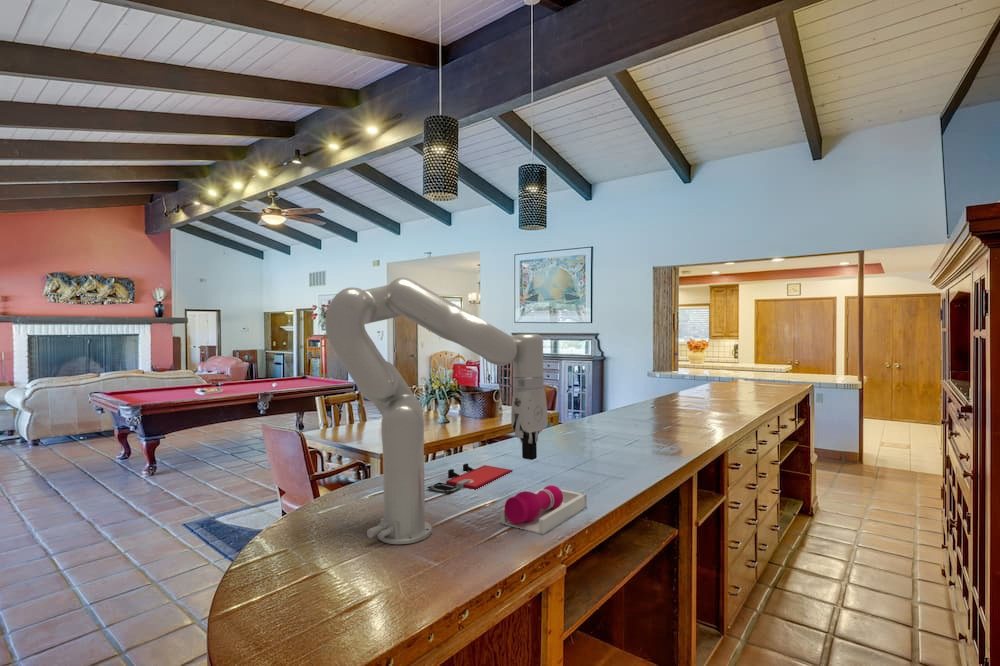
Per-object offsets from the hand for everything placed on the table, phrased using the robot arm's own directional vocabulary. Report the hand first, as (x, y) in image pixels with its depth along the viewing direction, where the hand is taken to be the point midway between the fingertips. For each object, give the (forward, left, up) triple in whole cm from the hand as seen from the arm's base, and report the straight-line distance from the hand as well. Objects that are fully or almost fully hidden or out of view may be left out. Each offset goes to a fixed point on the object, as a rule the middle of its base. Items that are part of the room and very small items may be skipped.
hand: (529, 458), depth 122 cm
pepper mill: (-5, +2, -12) cm, 13 cm away
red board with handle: (+20, +36, -17) cm, 45 cm away
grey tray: (+7, 0, -16) cm, 18 cm away
